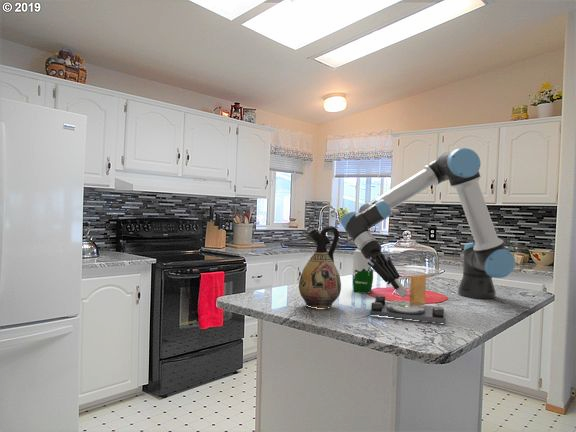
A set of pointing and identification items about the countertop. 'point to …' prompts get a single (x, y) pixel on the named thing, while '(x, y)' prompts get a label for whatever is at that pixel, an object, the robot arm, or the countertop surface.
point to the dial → (412, 298)
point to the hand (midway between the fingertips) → (404, 295)
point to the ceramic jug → (321, 272)
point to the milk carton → (361, 273)
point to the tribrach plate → (429, 315)
